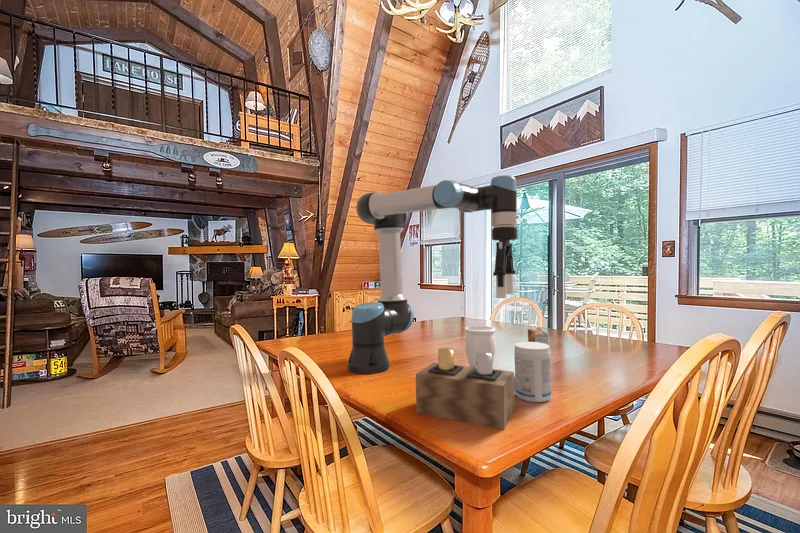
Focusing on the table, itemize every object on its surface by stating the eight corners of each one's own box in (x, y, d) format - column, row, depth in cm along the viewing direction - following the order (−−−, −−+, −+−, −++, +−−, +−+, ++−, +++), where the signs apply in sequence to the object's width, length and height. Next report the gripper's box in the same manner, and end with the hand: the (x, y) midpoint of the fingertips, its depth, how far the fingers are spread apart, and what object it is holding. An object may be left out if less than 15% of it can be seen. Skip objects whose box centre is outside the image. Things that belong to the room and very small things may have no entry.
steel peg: (474, 394, 92) (473, 354, 92) (478, 389, 96) (478, 350, 95) (490, 397, 90) (490, 355, 90) (494, 391, 94) (493, 352, 94)
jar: (459, 369, 134) (459, 327, 133) (483, 365, 138) (482, 324, 138) (477, 377, 124) (477, 331, 124) (502, 372, 128) (501, 329, 128)
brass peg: (436, 389, 97) (435, 350, 97) (442, 384, 100) (441, 347, 100) (451, 391, 95) (450, 351, 95) (456, 386, 98) (455, 348, 98)
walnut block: (416, 413, 95) (415, 371, 95) (434, 397, 106) (433, 360, 106) (504, 429, 85) (503, 383, 85) (514, 410, 96) (513, 369, 95)
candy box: (527, 372, 128) (527, 328, 127) (540, 372, 127) (540, 328, 127) (535, 381, 119) (535, 333, 119) (549, 381, 118) (548, 333, 118)
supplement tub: (542, 390, 110) (541, 340, 110) (557, 402, 100) (557, 348, 100) (510, 391, 109) (509, 341, 109) (522, 404, 100) (521, 349, 100)
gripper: (510, 222, 102) (511, 300, 102) (522, 229, 125) (522, 293, 125) (483, 224, 105) (484, 299, 106) (499, 230, 128) (500, 292, 128)
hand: (505, 296), depth 115 cm, fingers open, 13 cm apart
